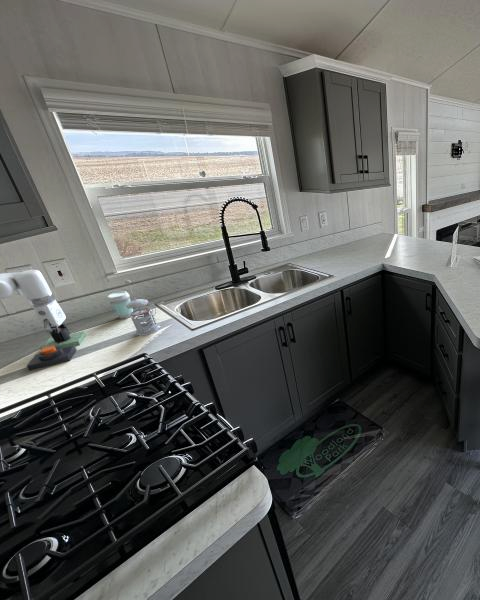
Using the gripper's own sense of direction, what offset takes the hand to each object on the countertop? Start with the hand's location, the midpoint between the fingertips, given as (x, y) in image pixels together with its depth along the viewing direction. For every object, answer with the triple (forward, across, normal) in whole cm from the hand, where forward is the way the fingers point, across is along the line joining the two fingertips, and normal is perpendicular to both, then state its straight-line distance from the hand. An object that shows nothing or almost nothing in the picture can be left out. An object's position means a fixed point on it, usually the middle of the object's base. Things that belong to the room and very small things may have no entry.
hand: (62, 337), depth 141 cm
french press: (+3, -5, -31) cm, 31 cm away
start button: (-1, -14, 0) cm, 14 cm away
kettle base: (+3, -14, 0) cm, 14 cm away
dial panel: (+3, 0, 0) cm, 3 cm away
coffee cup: (+3, +18, -19) cm, 26 cm away
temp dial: (+1, 0, 0) cm, 1 cm away
